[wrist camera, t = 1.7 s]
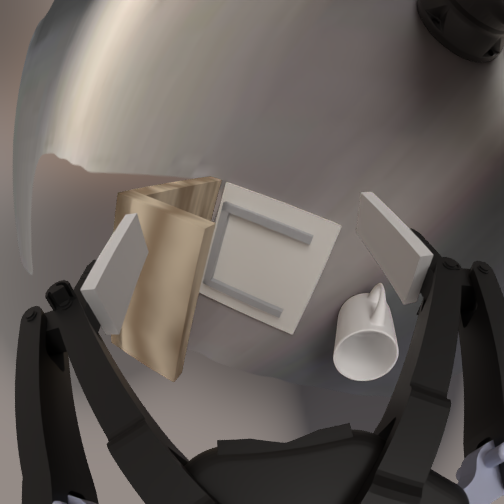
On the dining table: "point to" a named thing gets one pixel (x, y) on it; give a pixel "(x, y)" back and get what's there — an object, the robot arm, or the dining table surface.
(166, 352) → the overhang shelf
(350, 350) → the mug
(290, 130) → the dining table surface
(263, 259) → the seat plate
